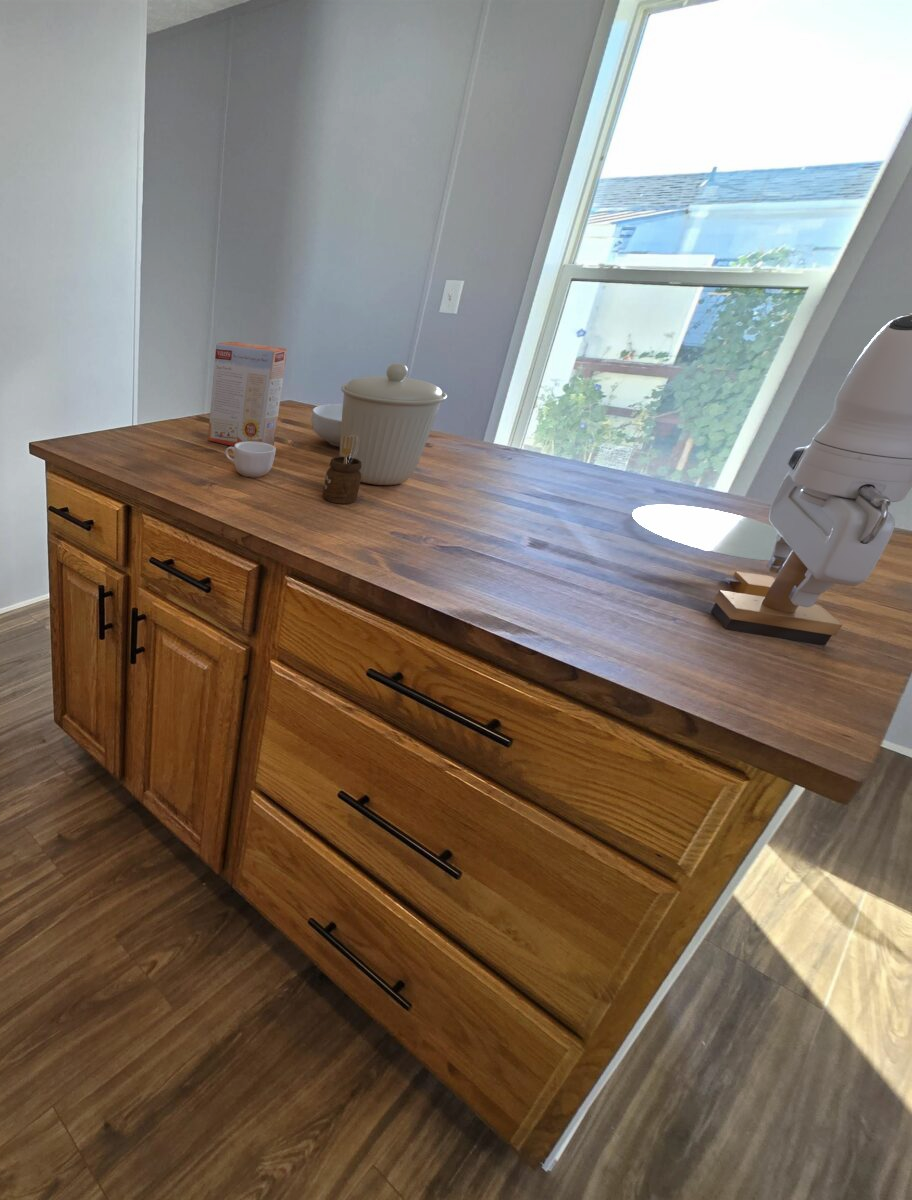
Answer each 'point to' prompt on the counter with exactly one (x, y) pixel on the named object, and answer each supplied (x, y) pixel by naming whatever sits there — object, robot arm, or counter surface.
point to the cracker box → (246, 393)
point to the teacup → (252, 458)
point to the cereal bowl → (328, 422)
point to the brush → (777, 610)
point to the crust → (752, 583)
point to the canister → (388, 423)
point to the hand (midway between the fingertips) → (786, 586)
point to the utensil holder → (343, 477)
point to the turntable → (709, 530)
